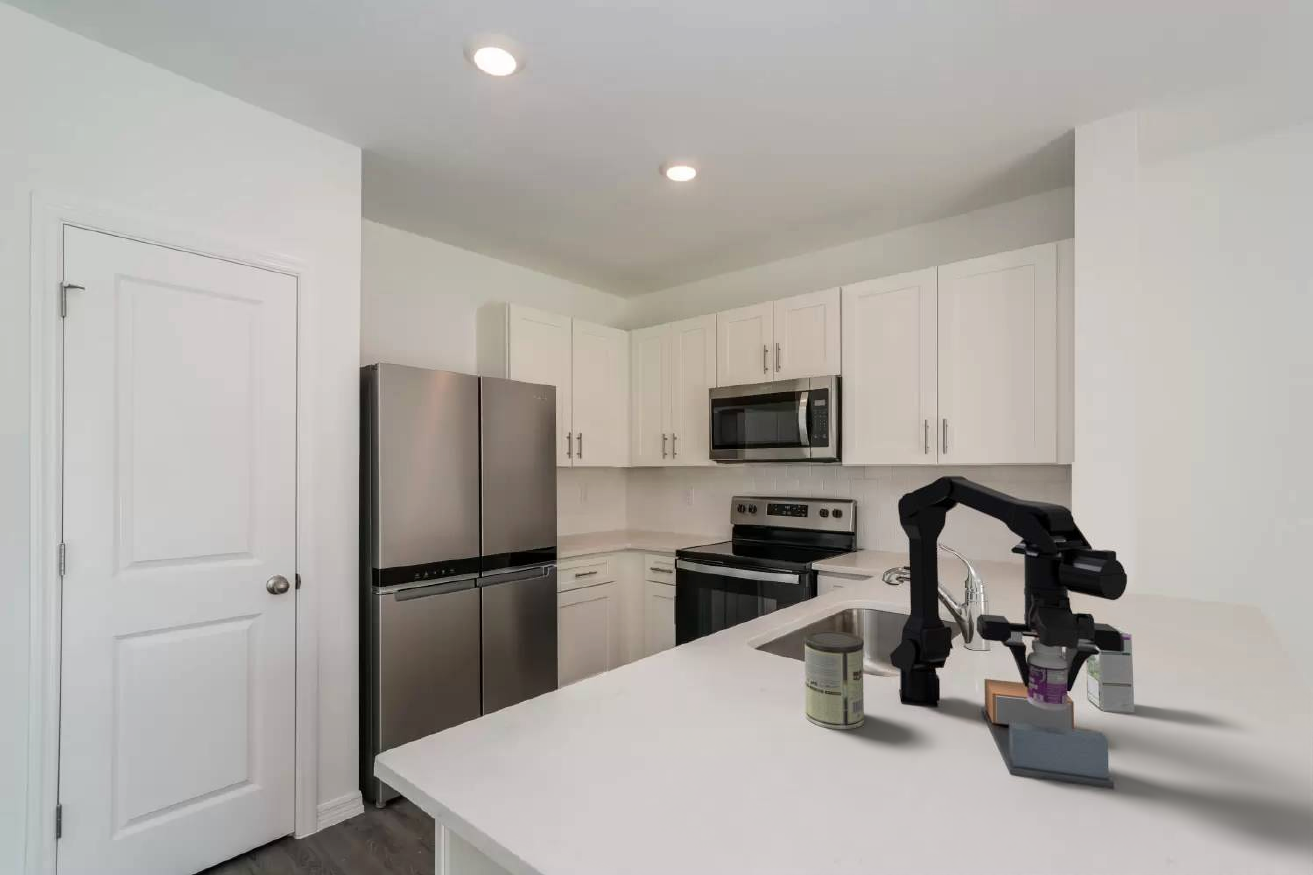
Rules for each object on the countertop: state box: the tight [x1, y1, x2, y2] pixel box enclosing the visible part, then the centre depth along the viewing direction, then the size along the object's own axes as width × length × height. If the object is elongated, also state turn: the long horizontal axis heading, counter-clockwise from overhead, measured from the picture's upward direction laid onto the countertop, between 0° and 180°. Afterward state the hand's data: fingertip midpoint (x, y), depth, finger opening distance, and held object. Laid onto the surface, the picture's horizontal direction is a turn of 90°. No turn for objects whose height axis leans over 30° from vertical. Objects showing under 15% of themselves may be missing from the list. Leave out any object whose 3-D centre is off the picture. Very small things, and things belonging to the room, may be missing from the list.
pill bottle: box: [1026, 638, 1068, 711], centre depth 98 cm, size 5×5×10 cm
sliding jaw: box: [984, 678, 1075, 730], centre depth 110 cm, size 8×12×5 cm, turn 72°
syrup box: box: [1085, 625, 1135, 714], centre depth 120 cm, size 6×6×14 cm
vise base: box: [980, 706, 1115, 790], centre depth 103 cm, size 24×13×6 cm, turn 162°
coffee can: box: [803, 630, 865, 730], centre depth 114 cm, size 10×10×14 cm
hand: (1046, 688), depth 98 cm, fingers closed on pill bottle, 5 cm apart
